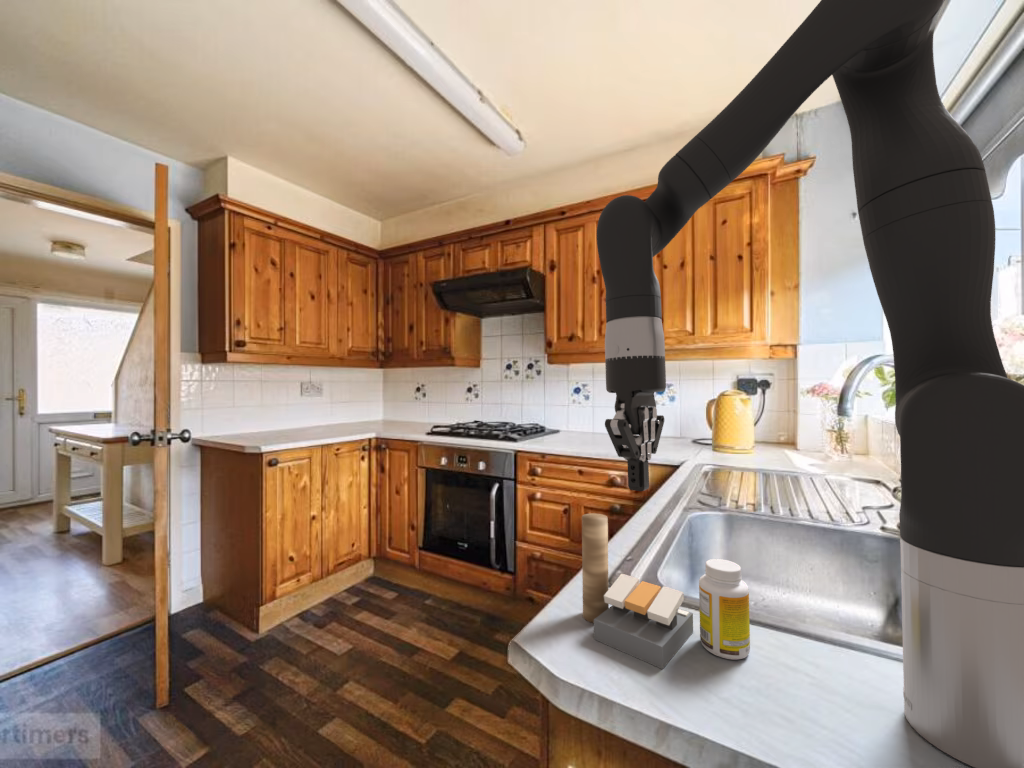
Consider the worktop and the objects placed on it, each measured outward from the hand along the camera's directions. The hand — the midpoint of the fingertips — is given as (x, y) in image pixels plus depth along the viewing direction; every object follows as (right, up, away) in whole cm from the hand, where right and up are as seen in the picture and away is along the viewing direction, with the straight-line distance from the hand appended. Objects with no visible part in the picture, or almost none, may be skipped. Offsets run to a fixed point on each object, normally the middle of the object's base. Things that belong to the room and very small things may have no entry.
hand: (638, 489), depth 55 cm
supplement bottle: (+10, -19, -2) cm, 22 cm away
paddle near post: (-1, -15, +3) cm, 15 cm away
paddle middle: (+1, -15, +1) cm, 15 cm away
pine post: (-5, -19, +5) cm, 20 cm away
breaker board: (+1, -19, 0) cm, 19 cm away
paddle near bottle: (+3, -15, -1) cm, 15 cm away
